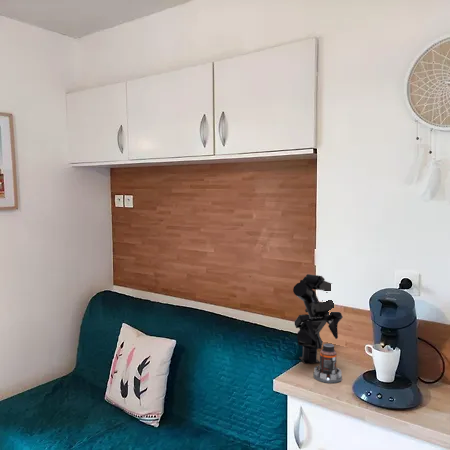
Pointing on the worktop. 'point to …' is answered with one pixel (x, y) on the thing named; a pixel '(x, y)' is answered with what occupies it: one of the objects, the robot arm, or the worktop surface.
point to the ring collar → (323, 376)
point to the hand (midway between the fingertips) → (326, 339)
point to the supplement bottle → (328, 359)
